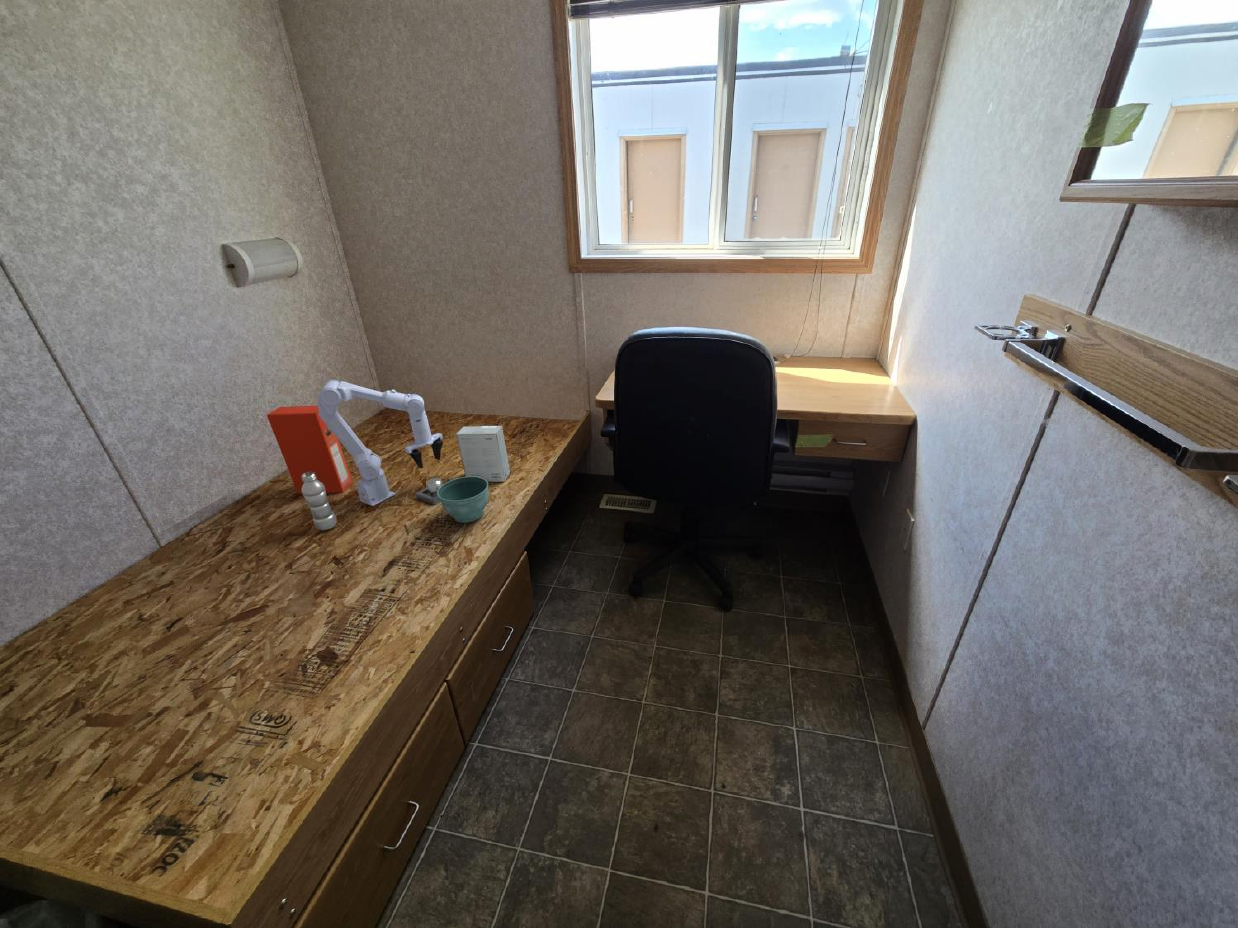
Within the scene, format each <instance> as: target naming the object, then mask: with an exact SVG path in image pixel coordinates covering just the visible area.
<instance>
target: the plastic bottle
mask: <svg viewBox="0 0 1238 928" xmlns="http://www.w3.org/2000/svg"><path fill="white" fill-rule="evenodd" d="M302 481H303V482H304V484H303V486H302V495H303V497H304V499H305V500H306V503H307V505H308V506H309V509H310V512H311V514H312V520H313V525H314V526H315V528H316V529H317V530H319V531H327V530H330V529H332V528H334V527H336V525H337V522H338V519H337V516H336V514H335V513H334V512H333V509H332V508H331V505H330V504H329V501H328V497H327V493H326V491H325V486H324V485H323V484H322V483H321V482H320V481H318V480H316V476H315V473H314V472H307V473H304V474H302Z"/></svg>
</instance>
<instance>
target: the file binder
mask: <svg viewBox="0 0 1238 928" xmlns="http://www.w3.org/2000/svg"><path fill="white" fill-rule="evenodd" d="M266 416H267V417H266V418H267V420H268V422H269V425H270V427H271V429H272V432H273V435H274V437H275V440H276V442H277V445H278V447H279V450H280V452H281V456H282V457H283V459H284V462H285V465H286V467H287V470H288V473H289V475H290V477H291V480H292V482H293V484H294V487H295V490H296V491H297V494H299V495H300V494H302V486H303V484H304V482H303V481H302V474H304V473H307V472H314V473H315V476H316V480H318V481H320V482H321V483H322V484H323V485H324V486H325V491H326V494H329V493H330V494H334V493H344V492H345V491H346V490H347V489H348V488H349V487H351V485H353V482H354V481H353V477H352V474H351V472H350V469H349V466H348V463H347V459H346V457H345V454H344V451H343V447H342V443H341V442H340V441H339V439H338V438H337V437H336V436H335V435H334V433H333V432H332V431H331V430H330V428H329V427H328V426H327V425H326V424H325V422H324V421H323V420H322V419H321V417H320V416H319V409H318V405H300V406H299V405H298V406H295V405H294V406H293V405H292V406H279V407H278V408H275V409H274V410H273V411H271V412H269V413H267V414H266ZM302 495H303V494H302Z"/></svg>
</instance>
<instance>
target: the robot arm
mask: <svg viewBox="0 0 1238 928" xmlns="http://www.w3.org/2000/svg"><path fill="white" fill-rule="evenodd" d="M342 399H343V402H348V401H350V400H353V399H361V400H367V401H370V402H371V401H372V402H376V403H381V404H382V405H383V407H385V408H389V409H393V410H398V411H403V412H406V413H407V414H408V415H409V421H410V425H411V430H412V434H413V438H414V441H413V442H411V444H408V445H407V446H405V447H404V450H405V453H407V454H408V455H409V456H410V457H411V458H412V460H413V461H414V462H415V464H416V466H417V468H419V469H424V462H423V459H422V452H421V451H419V449H420V448H423V447H425V446H431V449H432V453H433V456H434V459H435V460H437V461H439V460H441V451H442V446H443V445H444V441H443V439H444V438H443V434H442V433H441V432H440V433H439V432H437V433H435V434H432V433H431V432H432V431H431V428H430V424H429V420H428V416H427V414H426V413H427V412H426V410H425V401H424V398H423V397H422V396H420V395H418V394H416V393H413V394H411V393H402V392H398V391H396V389H391V390H386V391H383V392H382V391H379V390H375V389H370V388H367V387H363V386H359V385H357V384H353V383H350V382H347V381H342V380H341V381H339V380H337V379H330V380H328V381H326V382H325V383H324V385H323V387H322V388H321V389H320V390H319V393H318V396H317V398H316V401H317V406H318V409H319V416H320V417H321V419H322V420H323V421H324V422H325V424H326V425H327V426H328V427H329V428H330V430H331V431H332V432H333V433H334V435H335V436H336V437H337V438H338V439H339V441H340V444H341V445H343V447H344V448H345V449H346V450H347V451H348V453H349V454H350V456H352V458H353V460H354V463H355V466H356V468H357V469H358V472H359V476H360V477H361V479H360V480H359V481H357V483H356V484H355V485H356V489H357V492H358V493H357V494H358V496H359V502H360V503H361V502H362V503H364V504H366V505H369V506H372V507H374V506H376V505H379V504H381V502H384V501H386V500H388V499H389V498H391V497H393V496H395V495H396V492H393V491H390V489H389V484H388V482H387V478H386V475H385V472H384V470H383V469H382V468H381V466H382V458H381V457H380V456H379V455H377V454H376V453H374V452H373V450H371V449H370V448H367V447H366V446H365V445H364V443H363V442H362V441H361V440H360V439H359V437H358V436H357V435H356V433H355V432H354V431H353V429H352V428H351V427H350V425H349V424H348V423H347V422H346V421H345V420H344V417H342V416H341V414H340V412H338V409H339V406H340V404H341V402H342Z"/></svg>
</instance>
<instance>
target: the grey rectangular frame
mask: <svg viewBox="0 0 1238 928" xmlns="http://www.w3.org/2000/svg"><path fill="white" fill-rule="evenodd" d="M444 484H445V483H444V482H442V485H444ZM414 494H415V498H416V499H417V500H420V501H423V502H426V503H428V504H431V505H433V506H436V505H438V504H439V503H441V501H440V499H439V497H438V495H437V496H436V497H432V496H430V494H429V490H428V486H426V487H425V488H423V489H421V490H419V491H417V492H415V493H414Z"/></svg>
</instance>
